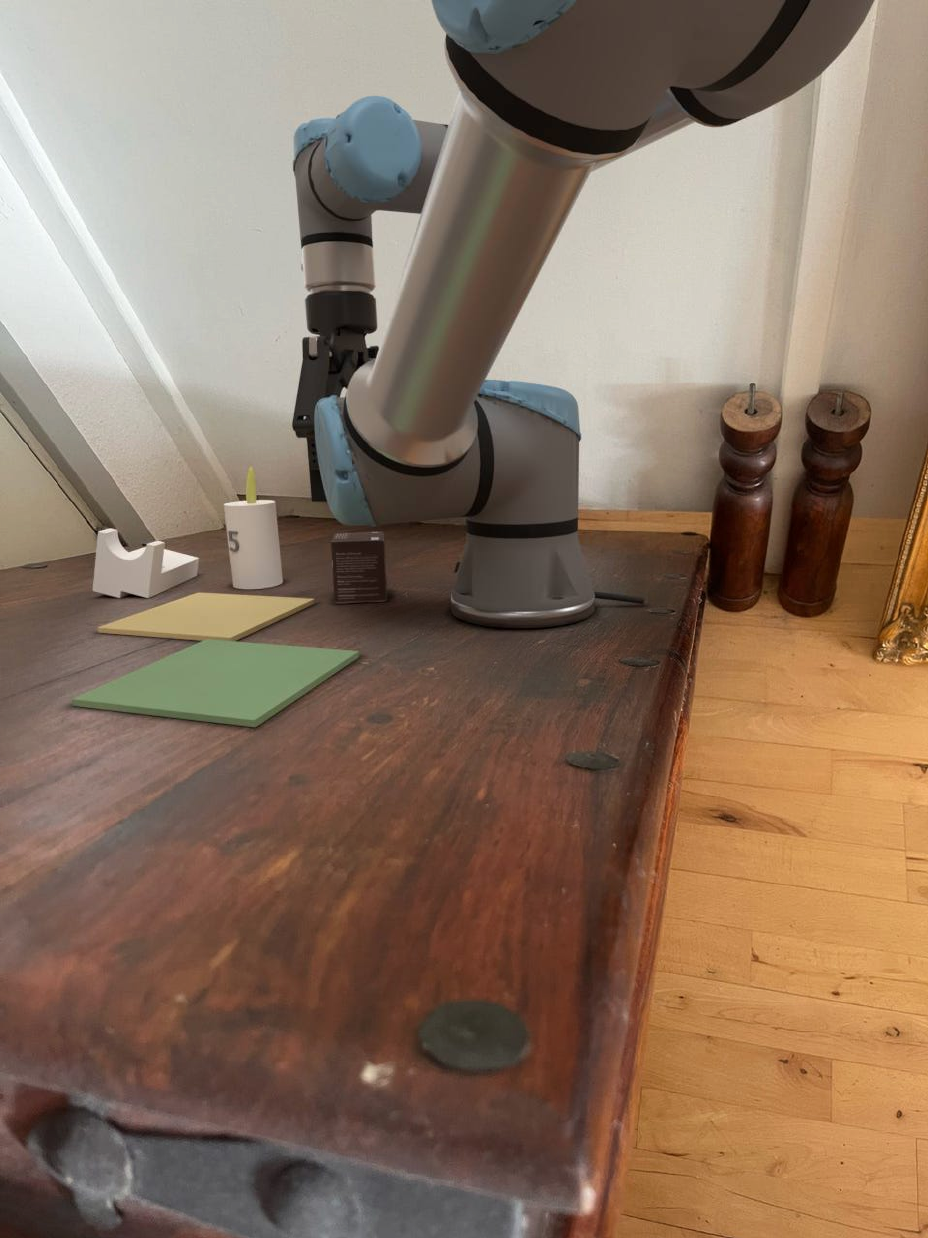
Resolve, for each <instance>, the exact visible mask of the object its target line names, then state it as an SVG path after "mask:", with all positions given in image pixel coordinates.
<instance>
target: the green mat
mask: <svg viewBox="0 0 928 1238" xmlns="http://www.w3.org/2000/svg"><path fill="white" fill-rule="evenodd" d="M359 658H360V652H359V650H348V649H336V648H323V647H310V646H296V645H287V644H286V645H284V644H273V643H272V644H271V643H270V644H269V643H261V642H260V643H258V642H249V641H248V642H246V641H222V640H209V639H206V640H204V641H198V642H196V643H194V644H193V645H190V646H188V647H186V648H183V649H181V650H179V651H177V652H174V653H172V654H170V655H168V656H165V657H163V658H161V659H159V660H157V661H154V662H151V663H149V664H147V665H145V666H143V667H141V668H139V669H136V670H133V671H131V672H129V673H127V674H125V675H122V676H120V677H118V678H115V679H114V680H111V681H109V682H107V683H105V684H102V685H99V686H98V687H95V688H93V689H91V690H88V691H87V692H84V693H82V694H79V695H78V696H75V697H73V698H71V703H72V706H73V707H79V708H86V709H95V710H103V711H113V712H121V713H128V714H138V715H147V716H154V717H163V718H172V719H180V720H187V721H188V720H189V721H194V722H195V721H196V722H203V723H213V724H221V725H229V726H239V727H247V728H257V727H258V726H261V725H262V724H263V723H264V722H266V721H267V720H269V719H270V718H272V717H273V716H275V715H277V714H278V713H280V711H282V710H284V709H285V708H287V707H288V706H289V705H291V704H293V703H294V702H295V701H297V700H299V699H300V698H301V697H303V696H304V695H306V694H307V693H309V692H311V690H313V689H315V688H316V687H317V686H319V685H321V684H322V683H323V682H325V681H327V680H328V679H329V678H331V677H333V676H334V675H335V674H337V673H338V672H339V671H341V670H343V669H344V668H346V667H347V666H348V665H350V664H351V663H353V662H354V661H355V660H358V659H359Z"/></svg>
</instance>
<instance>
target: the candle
mask: <svg viewBox="0 0 928 1238" xmlns="http://www.w3.org/2000/svg"><path fill="white" fill-rule="evenodd" d="M256 479H257V478H256V473H255V469H254V468H253V466H252V465H251V466H250V467H249V469H248V472H247V476H246V487H245V489H246V491H245V498H246V500H238V501H232V502H231V501H230V502H226V503H223V511H224V518H225V527H226V537H227V545H228V554H229V562H230V571H231V578H232V579H231V580H232V581H231V583H232V587H233V588H235V589H238V590H260V589H269V588H274V587H278V586H279V585H282V584H283V583H284V579H283V567H282V557H281V547H280V538H279V527H278V516H277V505H276V501H275V500H271V499H257V494H258V493H257V480H256Z"/></svg>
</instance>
